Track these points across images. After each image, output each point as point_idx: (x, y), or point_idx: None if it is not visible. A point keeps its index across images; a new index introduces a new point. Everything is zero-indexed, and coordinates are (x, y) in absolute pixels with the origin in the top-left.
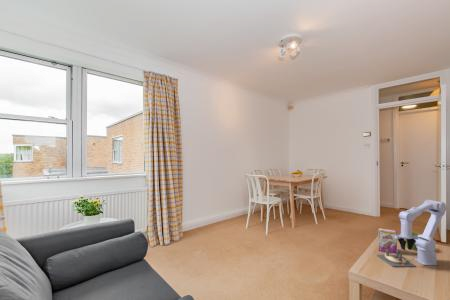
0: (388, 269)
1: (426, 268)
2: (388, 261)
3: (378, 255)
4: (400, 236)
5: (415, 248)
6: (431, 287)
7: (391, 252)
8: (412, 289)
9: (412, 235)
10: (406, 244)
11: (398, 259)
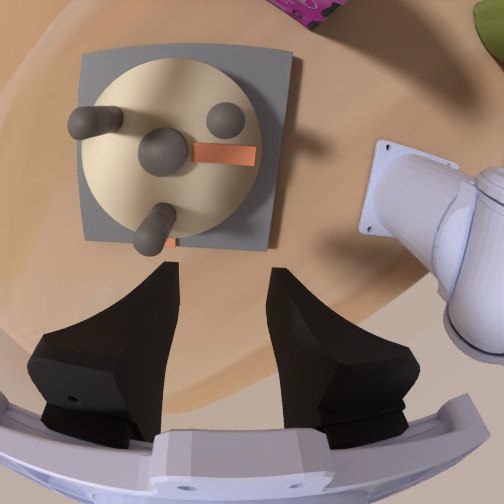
0: (52, 258)
1: (328, 266)
2: None
3: (81, 71)
4: (52, 487)
5: (499, 55)
6: (169, 389)
7: (276, 5)
8: None
9: (451, 455)
10: (485, 4)
11: (158, 200)
